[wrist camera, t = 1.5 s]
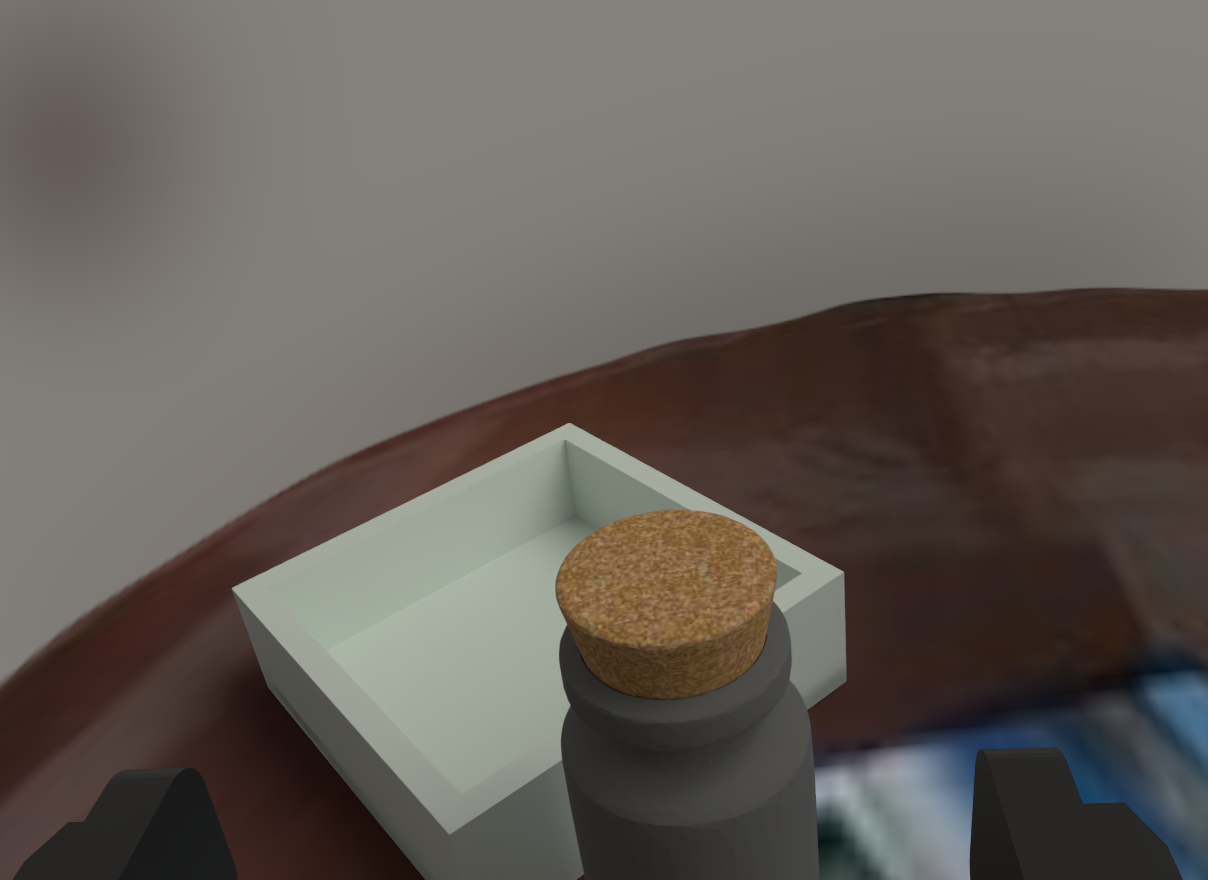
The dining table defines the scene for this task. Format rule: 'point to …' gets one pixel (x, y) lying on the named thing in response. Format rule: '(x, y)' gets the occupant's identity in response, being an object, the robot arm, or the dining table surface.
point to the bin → (480, 649)
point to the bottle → (683, 705)
